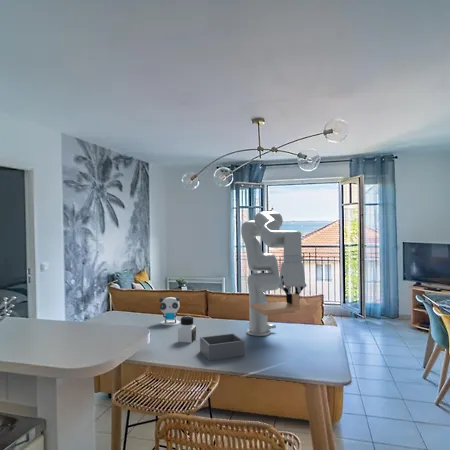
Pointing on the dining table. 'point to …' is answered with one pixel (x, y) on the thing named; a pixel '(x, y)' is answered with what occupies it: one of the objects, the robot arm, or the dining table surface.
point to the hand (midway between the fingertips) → (292, 302)
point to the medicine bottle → (187, 330)
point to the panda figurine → (170, 310)
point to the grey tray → (221, 346)
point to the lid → (278, 306)
